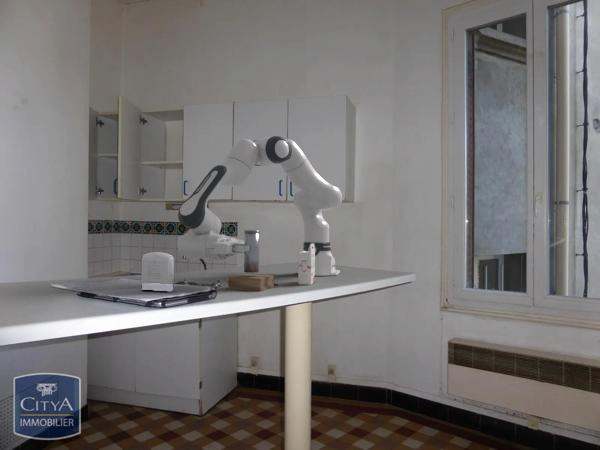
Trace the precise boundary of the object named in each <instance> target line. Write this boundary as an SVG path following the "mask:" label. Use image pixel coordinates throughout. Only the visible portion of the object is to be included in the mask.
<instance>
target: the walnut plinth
mask: <svg viewBox="0 0 600 450" xmlns="http://www.w3.org/2000/svg"><path fill="white" fill-rule="evenodd" d="M227 279H228V283H227V286H228V287H227V289H229V290H240V291H251V292H252V291H254V292H263V291H266V290H270V289H273V288H274V287H275V275H273V274H272V275H271V274H270V275H269V274H268V275H267V274H255V273H254V274H253V273H241V274H235V275H231V276H228V278H227Z"/></svg>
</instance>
